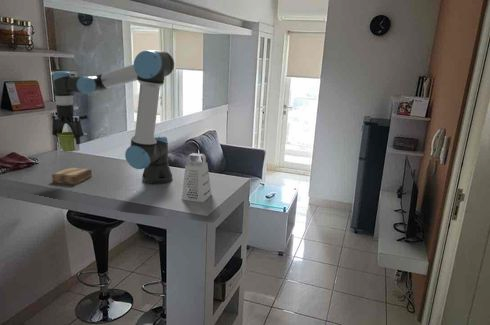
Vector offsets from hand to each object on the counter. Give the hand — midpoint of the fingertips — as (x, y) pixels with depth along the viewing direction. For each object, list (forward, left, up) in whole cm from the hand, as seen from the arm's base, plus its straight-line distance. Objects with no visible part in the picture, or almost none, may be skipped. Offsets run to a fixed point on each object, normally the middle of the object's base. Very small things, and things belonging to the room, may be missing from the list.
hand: (69, 149), depth 186 cm
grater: (-69, +6, -16) cm, 71 cm away
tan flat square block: (0, 0, -16) cm, 16 cm away
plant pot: (0, 0, -1) cm, 1 cm away
